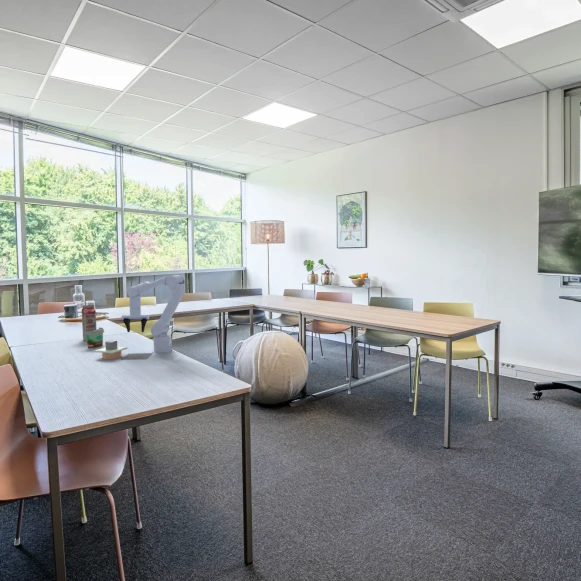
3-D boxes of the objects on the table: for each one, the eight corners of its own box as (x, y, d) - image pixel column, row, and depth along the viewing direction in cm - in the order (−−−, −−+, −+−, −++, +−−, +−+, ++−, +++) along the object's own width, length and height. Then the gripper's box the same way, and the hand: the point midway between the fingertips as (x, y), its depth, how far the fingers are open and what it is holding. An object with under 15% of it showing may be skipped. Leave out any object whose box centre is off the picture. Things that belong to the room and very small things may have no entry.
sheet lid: (127, 348, 218) (127, 339, 218) (112, 353, 208) (112, 344, 207) (110, 347, 222) (110, 338, 221) (95, 351, 211) (94, 342, 211)
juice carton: (83, 339, 260) (81, 305, 258) (94, 338, 264) (92, 304, 262) (85, 341, 254) (83, 306, 252) (97, 340, 258) (95, 305, 256)
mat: (153, 354, 223) (153, 353, 223) (146, 360, 210) (146, 359, 210) (128, 354, 222) (128, 353, 222) (120, 360, 209) (120, 359, 209)
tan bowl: (123, 355, 220) (123, 348, 220) (117, 359, 211) (117, 352, 211) (106, 355, 219) (106, 348, 219) (99, 360, 210) (99, 352, 210)
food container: (95, 348, 235) (95, 331, 234) (86, 348, 236) (85, 331, 236) (109, 344, 247) (108, 327, 246) (100, 343, 249) (99, 327, 248)
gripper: (150, 306, 234) (151, 330, 235) (124, 306, 233) (124, 330, 234) (146, 308, 227) (147, 332, 228) (119, 308, 226) (120, 332, 227)
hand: (135, 331), depth 231 cm, fingers open, 7 cm apart
